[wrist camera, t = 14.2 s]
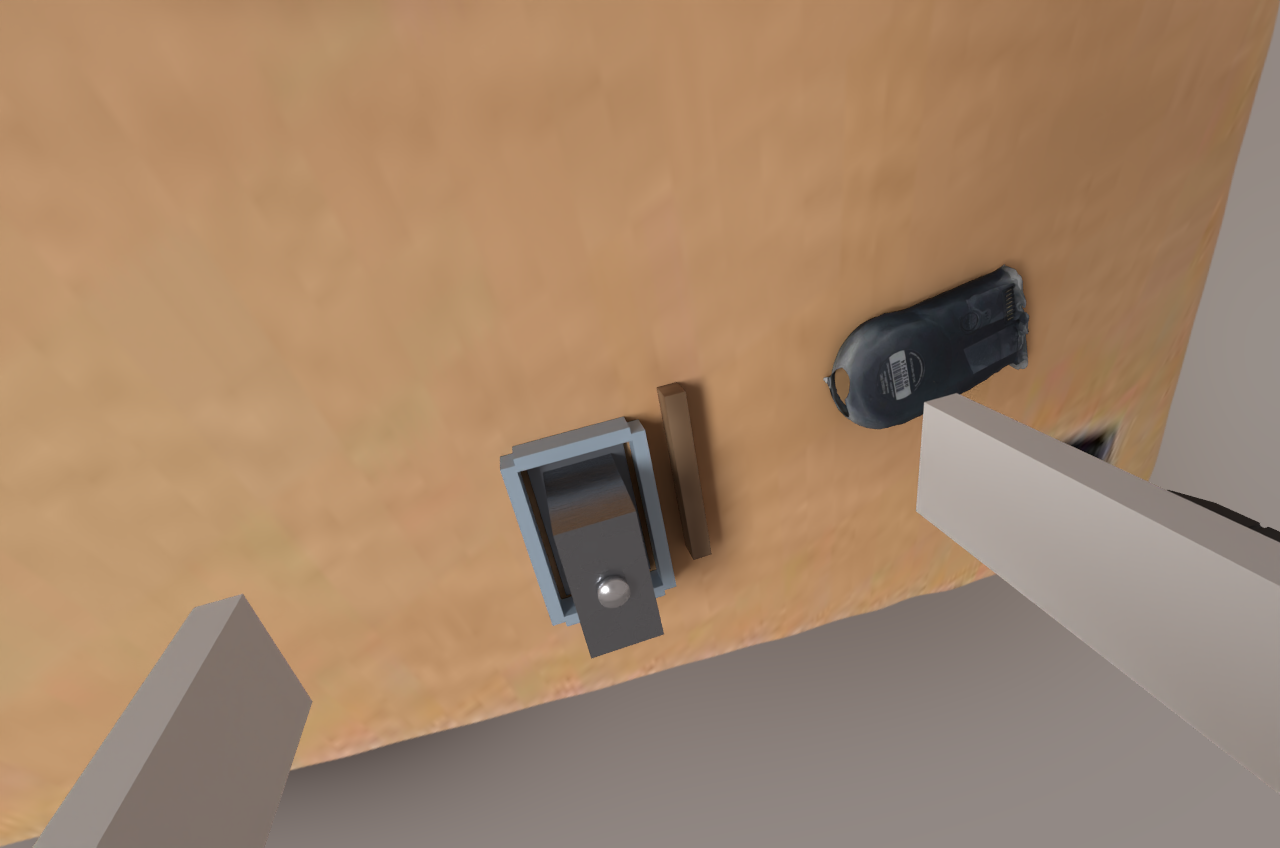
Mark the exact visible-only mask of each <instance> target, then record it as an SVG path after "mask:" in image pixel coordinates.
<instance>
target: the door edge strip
mask: <svg viewBox="0 0 1280 848" xmlns="http://www.w3.org/2000/svg"><path fill="white" fill-rule="evenodd" d="M657 392H658V397H659V403H660V408H661V413H662V419H663V424H664V430H665V435H666V441H667V446H668V452H669V457H670V462H671V468H672V473H673V479H674V484H675V490H676V495H677V501H678V506H679V511H680V517H681V522H682V528H683V533H684V539H685V544H686V547H687V549H688V550H689V552H690V554H691V556H692V558H693V560H695V559H698V558H702V557H705V556H708V555H711V547H710V541H709V535H708V529H707V522H706V516H705V510H704V504H703V497H702V491H701V485H700V479H699V472H698V466H697V460H696V454H695V447H694V441H693V435H692V429H691V422H690V416H689V410H688V404H687V397H686V391H685V390H684V389H683V388H682V387H681V386H680V385H679V384H678V383H677V382H676V383H672V384H668V385H664V386H661V387H657Z"/></svg>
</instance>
